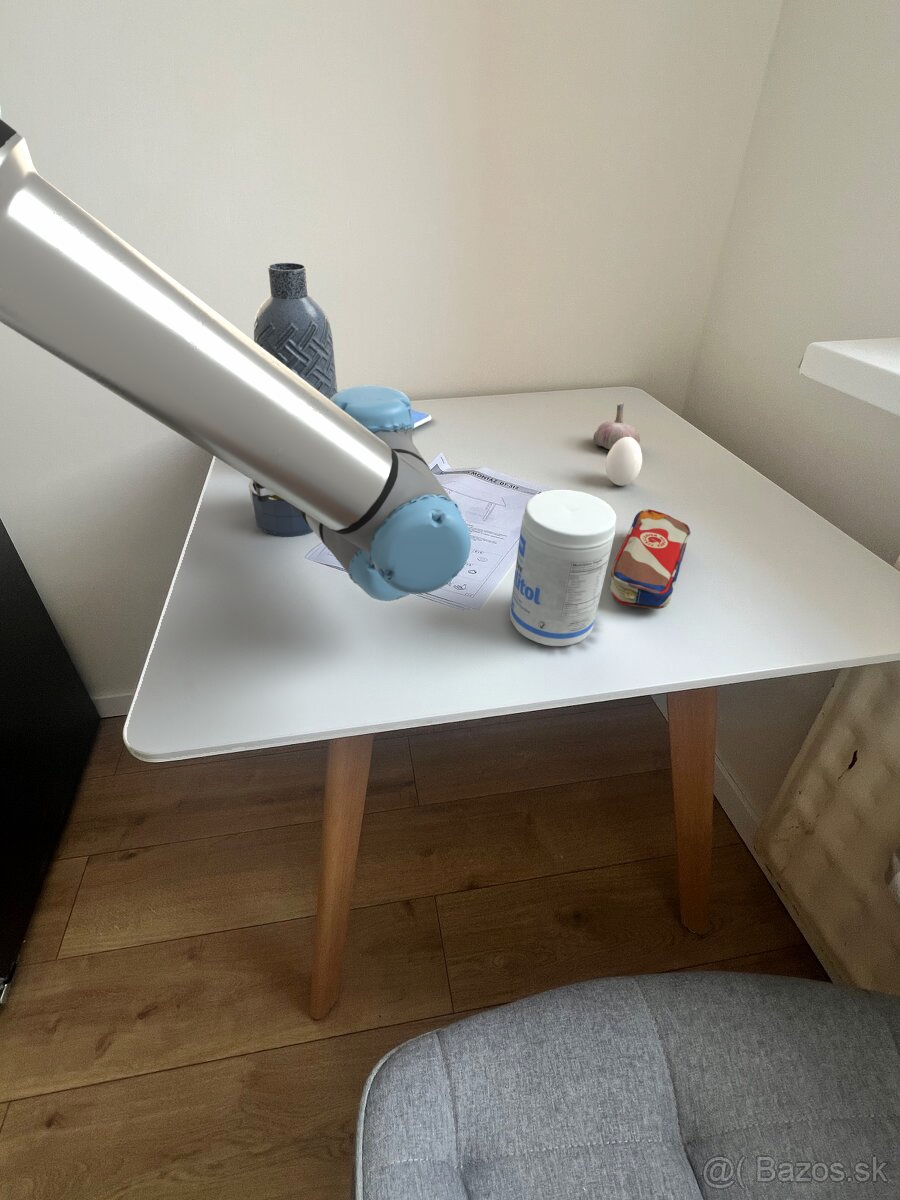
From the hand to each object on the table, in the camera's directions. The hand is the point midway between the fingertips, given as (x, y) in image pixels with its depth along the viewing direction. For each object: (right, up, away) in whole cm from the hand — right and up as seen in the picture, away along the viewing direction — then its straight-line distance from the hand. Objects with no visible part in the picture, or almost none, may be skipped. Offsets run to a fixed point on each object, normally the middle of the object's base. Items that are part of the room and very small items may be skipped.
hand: (264, 428), depth 93 cm
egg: (+51, -5, +16) cm, 54 cm away
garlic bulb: (+53, +3, +27) cm, 59 cm away
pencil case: (+50, -20, -4) cm, 53 cm away
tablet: (+11, +7, +29) cm, 32 cm away
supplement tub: (+36, -26, -13) cm, 46 cm away
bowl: (+3, -12, +3) cm, 12 cm away
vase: (+1, -1, +19) cm, 19 cm away
